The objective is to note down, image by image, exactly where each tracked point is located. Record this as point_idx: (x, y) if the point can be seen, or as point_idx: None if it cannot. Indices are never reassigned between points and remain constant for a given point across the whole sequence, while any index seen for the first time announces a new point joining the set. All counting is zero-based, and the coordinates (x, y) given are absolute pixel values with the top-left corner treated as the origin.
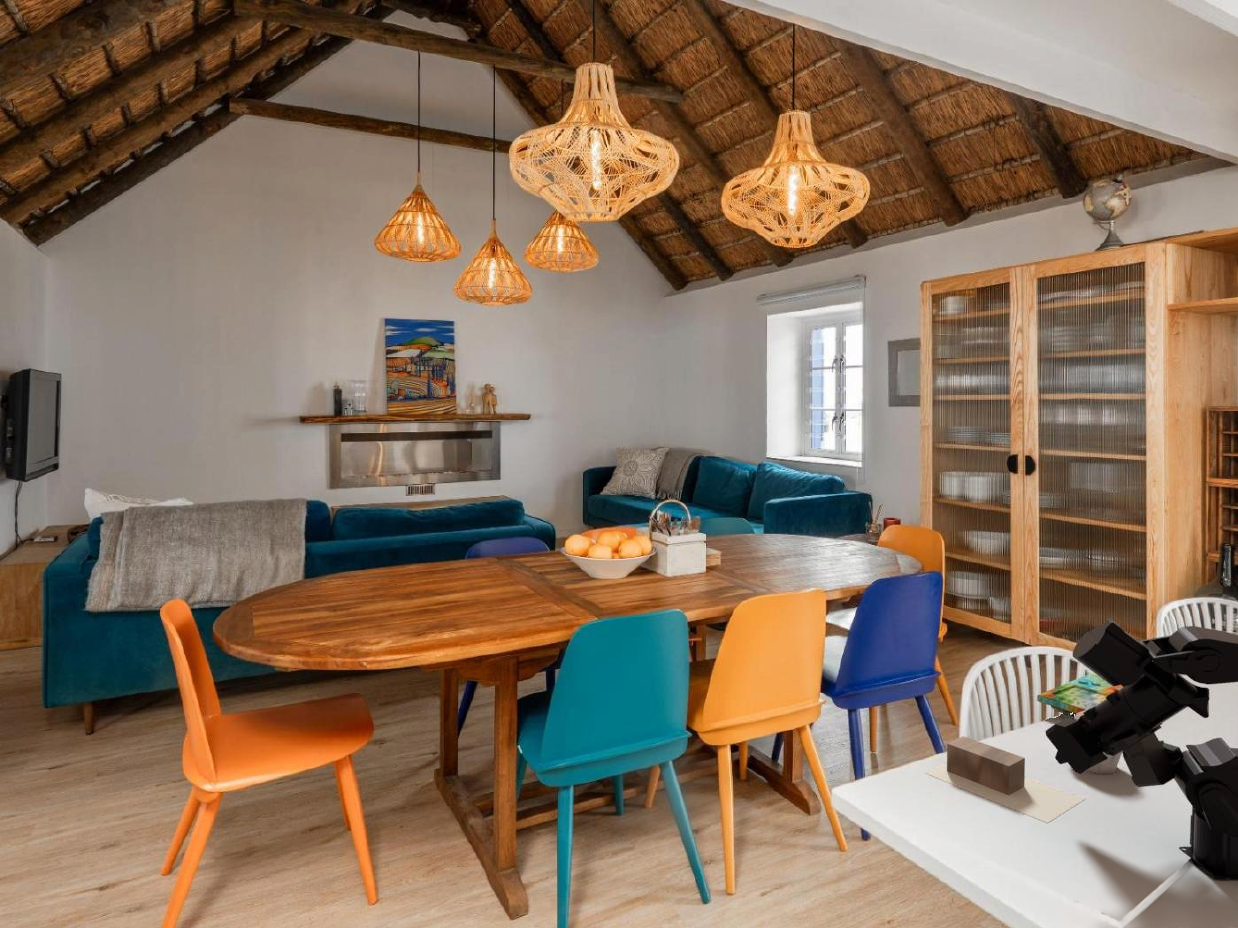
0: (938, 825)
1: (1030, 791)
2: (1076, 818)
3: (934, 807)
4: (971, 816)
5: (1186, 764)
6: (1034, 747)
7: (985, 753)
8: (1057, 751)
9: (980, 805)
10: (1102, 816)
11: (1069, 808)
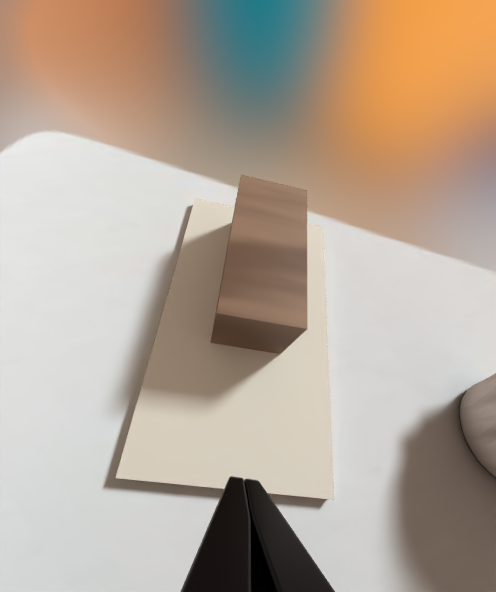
0: None
1: (267, 373)
2: None
3: (68, 246)
4: (68, 312)
5: None
6: (465, 309)
7: (252, 246)
8: (216, 508)
9: (138, 310)
10: None
11: None
